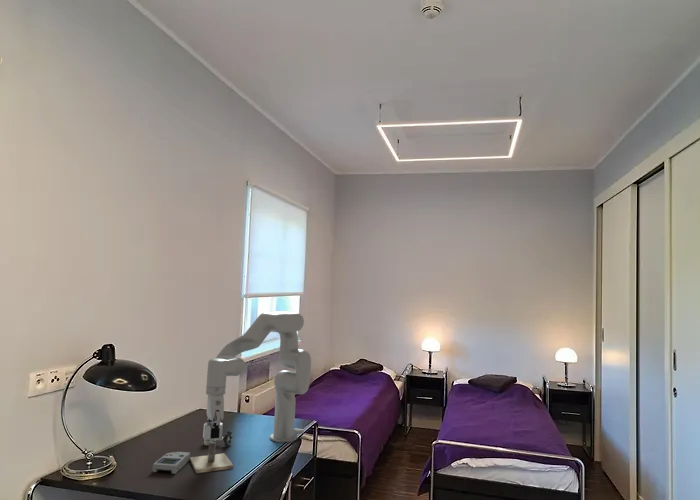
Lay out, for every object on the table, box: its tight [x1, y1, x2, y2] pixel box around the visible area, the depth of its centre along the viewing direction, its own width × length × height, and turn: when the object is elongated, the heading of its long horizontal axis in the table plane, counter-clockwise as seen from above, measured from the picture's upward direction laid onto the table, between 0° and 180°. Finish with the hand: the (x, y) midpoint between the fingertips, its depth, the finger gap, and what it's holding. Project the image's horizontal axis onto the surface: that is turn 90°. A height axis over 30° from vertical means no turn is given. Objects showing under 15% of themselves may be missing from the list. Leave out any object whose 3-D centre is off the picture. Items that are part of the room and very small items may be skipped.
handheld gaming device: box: [152, 451, 191, 475], centre depth 190 cm, size 9×15×4 cm, turn 177°
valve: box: [203, 430, 233, 447], centre depth 217 cm, size 7×7×12 cm
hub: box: [202, 421, 224, 441], centre depth 195 cm, size 7×7×5 cm
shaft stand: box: [189, 441, 234, 474], centre depth 194 cm, size 14×14×8 cm
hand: (212, 434), depth 195 cm, fingers closed on hub, 7 cm apart
